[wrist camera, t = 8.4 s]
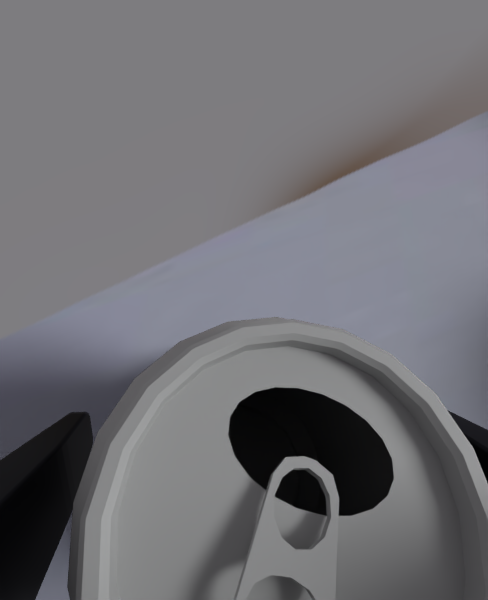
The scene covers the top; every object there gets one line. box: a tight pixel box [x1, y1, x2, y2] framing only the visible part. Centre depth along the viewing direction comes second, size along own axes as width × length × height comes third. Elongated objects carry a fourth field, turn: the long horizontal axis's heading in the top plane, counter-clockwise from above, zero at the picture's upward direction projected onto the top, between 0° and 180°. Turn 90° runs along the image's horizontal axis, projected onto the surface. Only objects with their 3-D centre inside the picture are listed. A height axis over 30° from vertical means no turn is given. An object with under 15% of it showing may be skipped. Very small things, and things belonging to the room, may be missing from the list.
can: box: [68, 317, 488, 600], centre depth 10 cm, size 8×8×12 cm
